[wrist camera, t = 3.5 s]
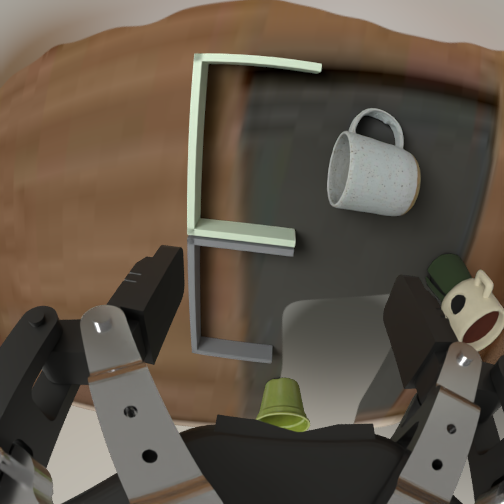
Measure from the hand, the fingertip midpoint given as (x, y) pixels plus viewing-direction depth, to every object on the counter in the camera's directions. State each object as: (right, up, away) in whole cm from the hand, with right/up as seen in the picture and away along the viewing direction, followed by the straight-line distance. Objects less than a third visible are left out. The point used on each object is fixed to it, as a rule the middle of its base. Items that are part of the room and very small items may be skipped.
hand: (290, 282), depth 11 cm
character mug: (+26, -1, +26) cm, 36 cm away
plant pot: (+4, -23, +40) cm, 47 cm away
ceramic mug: (+11, +12, +20) cm, 26 cm away
